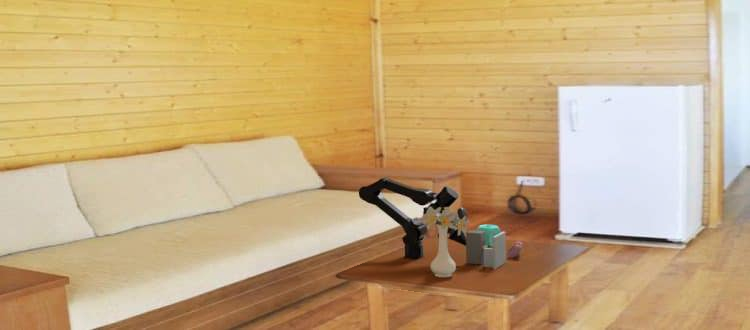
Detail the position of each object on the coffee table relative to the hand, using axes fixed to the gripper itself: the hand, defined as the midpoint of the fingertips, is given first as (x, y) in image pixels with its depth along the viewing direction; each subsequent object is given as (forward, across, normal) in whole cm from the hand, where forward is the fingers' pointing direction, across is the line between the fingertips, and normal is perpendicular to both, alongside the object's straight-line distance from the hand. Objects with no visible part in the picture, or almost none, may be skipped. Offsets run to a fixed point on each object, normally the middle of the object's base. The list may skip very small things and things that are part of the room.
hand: (467, 245), depth 332 cm
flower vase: (+5, -23, +5) cm, 24 cm away
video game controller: (+14, +18, -4) cm, 23 cm away
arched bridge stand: (+12, 0, -3) cm, 13 cm away
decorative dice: (+2, +34, +8) cm, 35 cm away
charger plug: (+7, 0, +2) cm, 8 cm away
